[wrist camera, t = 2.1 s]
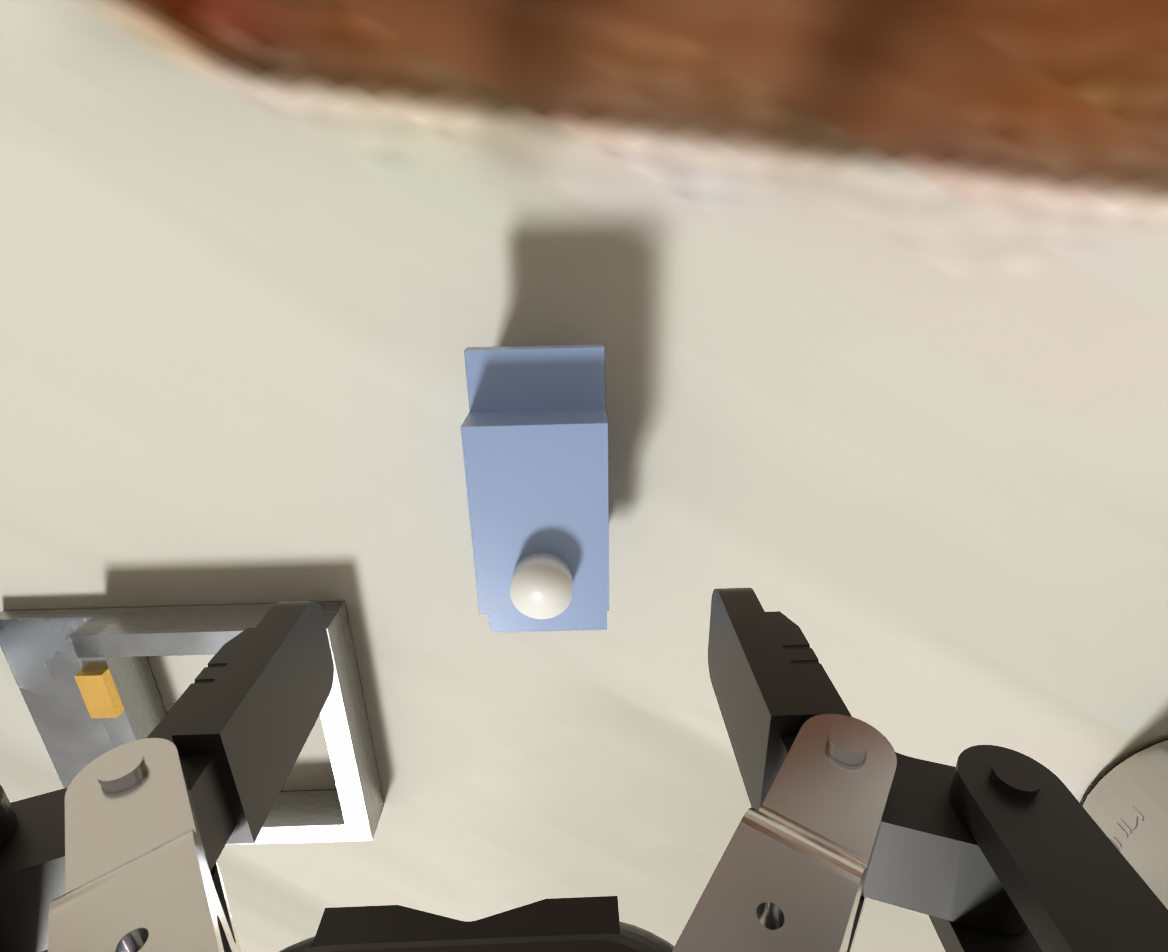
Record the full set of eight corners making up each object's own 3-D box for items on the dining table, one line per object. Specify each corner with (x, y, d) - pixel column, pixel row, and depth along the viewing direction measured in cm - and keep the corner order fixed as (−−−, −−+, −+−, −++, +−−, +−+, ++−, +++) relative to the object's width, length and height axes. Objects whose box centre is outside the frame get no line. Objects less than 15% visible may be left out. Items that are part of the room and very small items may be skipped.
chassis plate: (344, 601, 24) (323, 635, 22) (384, 804, 28) (369, 849, 26) (2, 611, 24) (-52, 645, 22) (90, 813, 28) (53, 858, 26)
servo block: (599, 330, 21) (609, 362, 15) (602, 577, 24) (611, 675, 19) (481, 332, 21) (448, 366, 15) (501, 580, 24) (480, 679, 19)
